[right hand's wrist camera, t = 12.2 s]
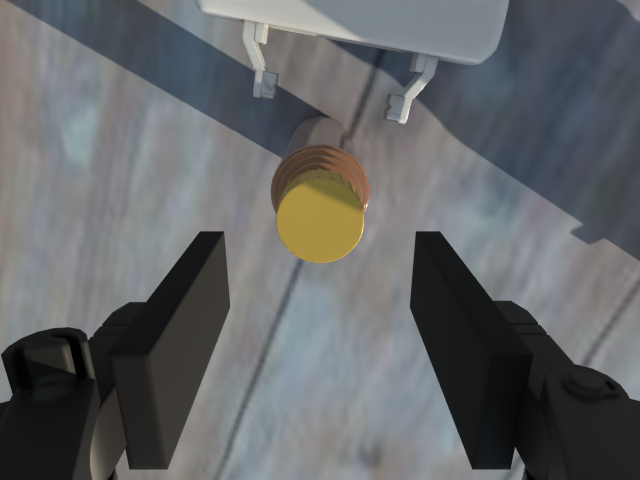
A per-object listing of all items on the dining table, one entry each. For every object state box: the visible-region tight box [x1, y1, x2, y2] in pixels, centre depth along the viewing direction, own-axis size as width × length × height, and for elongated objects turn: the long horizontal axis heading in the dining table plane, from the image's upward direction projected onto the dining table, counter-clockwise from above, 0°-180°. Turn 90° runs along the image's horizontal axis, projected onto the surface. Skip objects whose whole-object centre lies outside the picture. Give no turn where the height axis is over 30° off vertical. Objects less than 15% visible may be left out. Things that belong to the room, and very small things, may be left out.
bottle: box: [271, 116, 369, 214], centre depth 29 cm, size 5×5×21 cm
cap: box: [276, 168, 364, 263], centre depth 20 cm, size 4×4×2 cm
